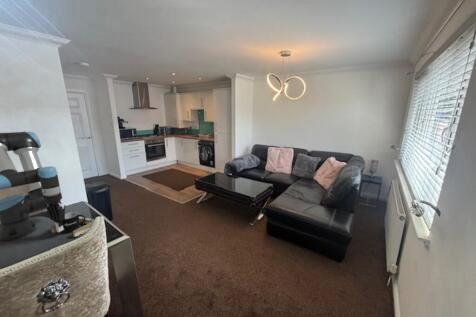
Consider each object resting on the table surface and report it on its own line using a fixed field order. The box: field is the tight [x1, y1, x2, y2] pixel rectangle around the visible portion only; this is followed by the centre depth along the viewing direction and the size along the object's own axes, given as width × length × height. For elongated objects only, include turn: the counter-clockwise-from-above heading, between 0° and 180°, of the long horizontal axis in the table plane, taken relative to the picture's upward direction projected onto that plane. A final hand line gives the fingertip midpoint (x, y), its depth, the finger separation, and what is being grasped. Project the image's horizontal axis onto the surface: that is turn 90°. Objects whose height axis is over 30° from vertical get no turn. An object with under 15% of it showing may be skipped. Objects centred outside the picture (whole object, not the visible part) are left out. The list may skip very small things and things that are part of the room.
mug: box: [62, 211, 86, 234], centre depth 123 cm, size 12×9×10 cm
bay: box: [50, 216, 96, 238], centre depth 123 cm, size 19×14×4 cm
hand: (60, 230), depth 116 cm, fingers closed
